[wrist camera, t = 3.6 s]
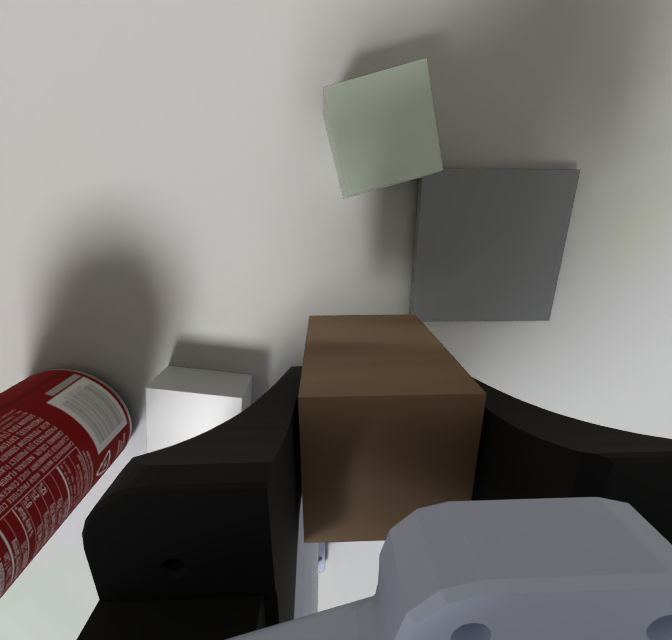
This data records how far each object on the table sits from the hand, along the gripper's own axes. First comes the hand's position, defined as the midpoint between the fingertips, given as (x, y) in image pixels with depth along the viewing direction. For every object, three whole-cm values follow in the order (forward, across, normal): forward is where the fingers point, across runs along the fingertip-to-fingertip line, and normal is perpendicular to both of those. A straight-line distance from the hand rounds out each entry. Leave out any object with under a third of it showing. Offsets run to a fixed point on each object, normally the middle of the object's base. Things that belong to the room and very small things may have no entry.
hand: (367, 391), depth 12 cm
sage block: (+8, -1, -9) cm, 12 cm away
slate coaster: (+8, -8, -4) cm, 12 cm away
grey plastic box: (+9, +9, +6) cm, 14 cm away
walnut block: (+2, 0, 0) cm, 2 cm away
